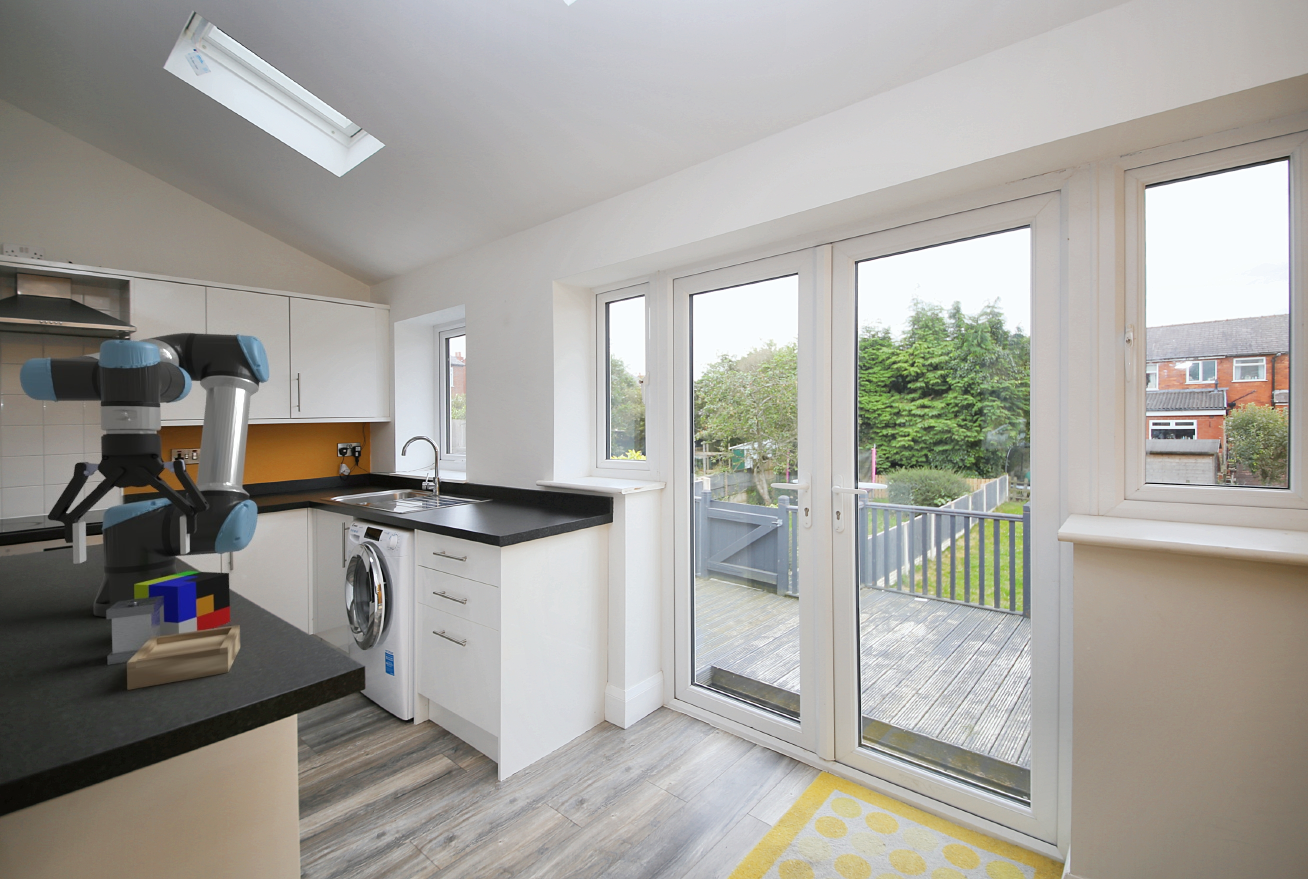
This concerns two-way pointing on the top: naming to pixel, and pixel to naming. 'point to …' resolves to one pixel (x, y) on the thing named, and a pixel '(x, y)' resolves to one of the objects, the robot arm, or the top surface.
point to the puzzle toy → (189, 600)
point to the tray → (183, 656)
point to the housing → (133, 626)
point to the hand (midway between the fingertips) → (134, 557)
